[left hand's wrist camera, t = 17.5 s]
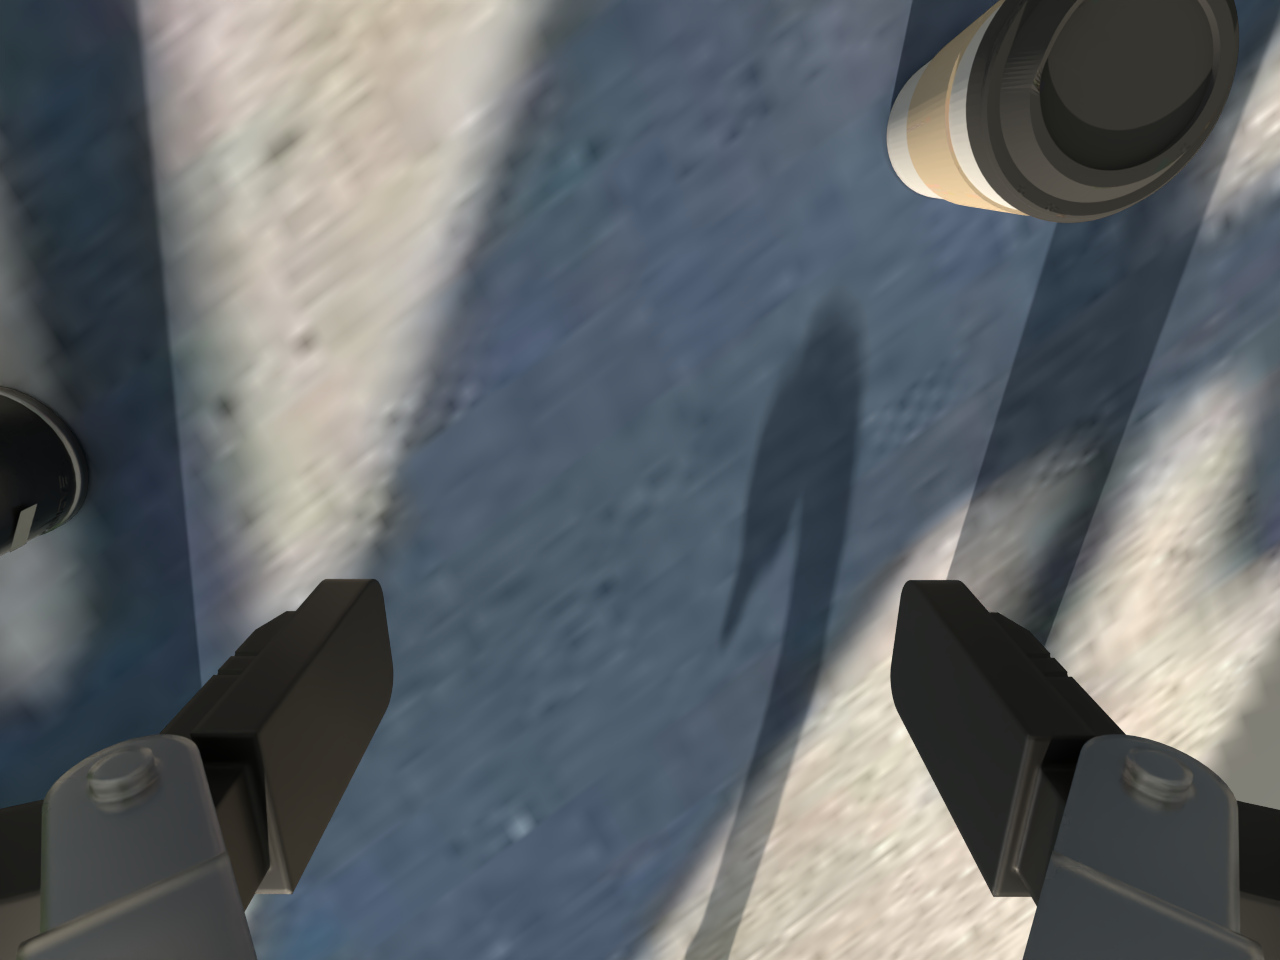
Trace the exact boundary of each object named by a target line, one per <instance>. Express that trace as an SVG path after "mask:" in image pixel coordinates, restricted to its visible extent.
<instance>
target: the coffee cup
mask: <svg viewBox="0 0 1280 960" xmlns="http://www.w3.org/2000/svg"><path fill="white" fill-rule="evenodd" d="M1238 49H1239V26H1238V17H1237V11H1236V6H1235V2H1234V0H999V1H998V2H997V3H996V4H995V5H993V6H992V7H991V8H990V9H989V10H987V11H986V12H985V13H984V14H983V15H982V16H980V17H979V18H978V19H977V20H976V21H974V22H973V23H972V24H971V25H970V26H968V27H967V28H966V29H965V30H964V31H962V32H961V33H960V34H959V35H958V36H956V37H955V38H954V39H953V40H952V41H950V42H949V43H948V44H947V45H946V46H945V47H944V48H942V49H941V50H940V51H939V53H938V54H937V55H936V56H935V57H934V58H933V59H932V60H931V61H929V62H928V63H927V64H925V65H924V66H923V67H922V68H920V69H919V70H918V71H917V72H916V73H915V74H914V75H913V76H912V77H911V78H910V79H909V80H908V81H907V83H906V84H905V85H904V87H903V88H902V90H901V91H900V93H899V94H898V96H897V98H896V100H895V103H894V105H893V107H892V110H891V113H890V117H889V121H888V128H887V147H888V153H889V157H890V160H891V163H892V166H893V168H894V170H895V172H896V173H897V175H898V176H899V178H900V179H901V180H902V181H903V182H904V183H905V184H906V185H907V186H908V187H909V188H911V189H912V190H914V191H915V192H917V193H919V194H922V195H925V196H928V197H933V198H940V199H945V200H947V201H950V202H952V203H955V204H959V205H965V206H971V207H977V208H983V209H989V210H996V211H1002V212H1008V213H1014V214H1020V215H1029V216H1032V217H1035V218H1038V219H1042V220H1046V221H1051V222H1060V223H1077V222H1086V221H1091V220H1096V219H1100V218H1104V217H1107V216H1110V215H1112V214H1115V213H1118V212H1120V211H1122V210H1124V209H1126V208H1128V207H1130V206H1132V205H1134V204H1136V203H1138V202H1140V201H1142V200H1143V199H1145V198H1147V197H1148V196H1150V195H1151V194H1153V193H1154V192H1156V191H1157V190H1159V189H1160V188H1161V187H1163V186H1164V185H1165V184H1166V183H1168V182H1169V181H1170V180H1171V179H1172V178H1173V177H1175V176H1176V175H1177V174H1178V173H1179V172H1180V171H1181V170H1182V169H1183V168H1184V167H1185V166H1186V165H1187V163H1188V162H1189V161H1190V160H1191V159H1192V158H1193V157H1194V155H1195V154H1196V153H1197V152H1198V150H1199V149H1200V148H1201V146H1202V145H1203V143H1204V142H1205V141H1206V139H1207V137H1208V136H1209V134H1210V133H1211V131H1212V129H1213V128H1214V126H1215V124H1216V122H1217V120H1218V118H1219V116H1220V114H1221V112H1222V110H1223V108H1224V105H1225V103H1226V101H1227V98H1228V95H1229V92H1230V89H1231V86H1232V83H1233V79H1234V75H1235V70H1236V65H1237V58H1238Z"/></svg>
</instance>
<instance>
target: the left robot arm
mask: <svg viewBox="0 0 1280 960" xmlns="http://www.w3.org/2000/svg"><path fill="white" fill-rule="evenodd" d="M87 490H88V469H87V464H86V461H85V457H84V454H83V452H82V449H81V447H80V445H79V443H78V442H77V440H76V438H75V437H74V435H73V434H72V432H71V431H70V430H69V428H68V427H67V426H66V425H65V424H64V422H63V421H62V420H61V419H60V418H59V417H58V416H57V415H56V414H54V413H53V412H52V411H51V410H50V409H48V408H47V407H46V406H44V405H43V404H42V403H40V402H38V401H37V400H35V399H33V398H31V397H30V396H28V395H25V394H23V393H21V392H18V391H16V390H13V389H9V388H6V387H1V386H0V556H1V555H3V554H5V553H7V552H9V551H10V552H12V551H13V550H15V549H17V548H19V547H21V546H23V545H25V544H26V542H27V541H29V540H31V539H33V538H35V537H37V536H39V535H42V534H45V533H47V532H50V531H52V530H54V529H55V528H57V527H59V526H61V525H63V524H64V523H66V522H68V521H69V520H70V519H71V518H73V517H74V516H75V514H76V513H77V512H78V511H79V509H80V508H81V506H82V504H83V503H84V500H85V498H86V494H87ZM890 677H891V690H892V696H893V700H894V704H895V707H896V709H897V711H898V713H899V715H900V717H901V719H902V721H903V723H904V725H905V727H906V729H907V731H908V733H909V735H910V737H911V738H912V740H913V742H914V744H915V746H916V748H917V750H918V752H919V754H920V756H921V758H922V760H923V762H924V764H925V765H926V767H927V769H928V771H929V773H930V775H931V777H932V779H933V781H934V783H935V785H936V787H937V789H938V791H939V793H940V794H941V796H942V798H943V800H944V802H945V804H946V806H947V808H948V810H949V812H950V814H951V816H952V818H953V820H954V821H955V823H956V825H957V827H958V829H959V831H960V833H961V835H962V837H963V839H964V841H965V843H966V845H967V847H968V849H969V850H970V852H971V854H972V856H973V858H974V860H975V862H976V864H977V866H978V868H979V870H980V872H981V874H982V876H983V877H984V879H985V881H986V883H987V885H988V887H989V889H990V891H991V893H992V895H993V897H1032V899H1033V900H1034V902H1035V904H1036V906H1037V909H1036V913H1035V916H1034V920H1033V924H1032V927H1031V931H1030V934H1029V938H1028V942H1027V945H1026V949H1025V953H1024V956H1023V960H1280V810H1277V809H1273V808H1268V807H1263V806H1259V805H1254V804H1249V803H1245V802H1241V801H1237V800H1236V799H1235V797H1234V794H1233V793H1232V791H1231V790H1230V788H1229V787H1228V786H1227V784H1226V783H1225V782H1224V781H1223V780H1222V779H1221V778H1220V777H1219V776H1218V775H1217V774H1215V773H1214V772H1213V771H1212V770H1210V769H1209V768H1208V767H1206V766H1205V765H1204V764H1202V763H1201V762H1199V761H1198V760H1196V759H1194V758H1192V757H1191V756H1189V755H1187V754H1185V753H1183V752H1181V751H1179V750H1177V749H1175V748H1173V747H1170V746H1167V745H1165V744H1162V743H1159V742H1156V741H1153V740H1150V739H1146V738H1141V737H1137V736H1130V735H1126V734H1125V733H1124V732H1123V731H1122V730H1121V729H1120V728H1119V727H1118V726H1117V725H1116V724H1115V722H1114V721H1113V720H1112V719H1111V718H1110V717H1109V716H1108V715H1107V714H1106V713H1105V712H1104V711H1103V710H1102V709H1101V707H1100V706H1099V705H1098V704H1097V703H1096V702H1095V701H1094V700H1093V699H1092V698H1091V697H1090V696H1089V695H1088V694H1087V692H1086V691H1085V690H1084V689H1083V688H1082V687H1081V686H1080V685H1079V684H1078V683H1077V682H1076V681H1075V680H1074V679H1073V677H1068V675H1067V671H1066V670H1065V669H1064V668H1063V667H1062V666H1061V665H1060V664H1059V662H1058V661H1057V660H1056V659H1055V658H1051V657H1050V653H1049V652H1048V651H1047V650H1046V649H1045V647H1044V646H1043V645H1042V644H1041V643H1040V642H1039V641H1038V640H1037V639H1036V638H1035V637H1034V636H1033V635H1032V634H1031V632H1030V631H1028V630H1026V629H1025V628H1023V627H1021V626H1020V625H1018V624H1016V623H1015V622H1013V621H1011V620H1010V619H1008V618H1006V617H1005V616H1003V615H1001V614H1000V613H989V612H988V611H987V610H986V608H985V607H984V606H983V605H982V604H981V603H980V602H979V600H978V599H977V598H976V597H975V596H974V595H973V594H972V592H971V591H970V590H969V589H968V588H967V587H966V586H965V584H963V583H962V582H961V581H959V580H909V581H907V582H906V583H905V585H904V587H903V589H902V593H901V598H900V606H899V613H898V620H897V627H896V634H895V641H894V648H893V656H892V663H891V675H890ZM392 687H393V663H392V656H391V648H390V641H389V634H388V627H387V619H386V612H385V605H384V598H383V592H382V588H381V586H380V584H379V582H378V581H377V580H375V579H325V580H323V581H322V582H321V583H320V584H319V585H318V586H317V587H316V588H315V590H314V591H313V592H312V593H311V594H310V595H309V596H308V598H307V599H306V600H305V601H304V602H303V603H302V604H301V606H300V607H299V608H298V609H297V610H296V611H286V612H284V613H283V614H281V615H279V616H278V617H276V618H274V619H273V620H271V621H269V622H268V623H266V624H264V625H263V626H261V627H259V628H258V629H256V630H255V631H254V632H253V633H252V634H251V635H250V636H249V637H248V638H247V640H246V641H245V642H244V643H243V644H242V645H241V646H240V647H239V648H238V649H237V650H236V651H235V656H231V657H230V658H229V659H228V660H227V661H226V662H225V663H224V664H223V665H222V667H221V668H220V669H219V670H218V675H213V676H212V677H211V678H210V680H209V681H208V682H207V683H206V684H205V685H204V686H203V687H202V688H201V689H200V690H199V691H198V692H197V694H196V695H195V696H194V697H193V698H192V699H191V700H190V701H189V702H188V703H187V704H186V705H185V707H184V708H183V709H182V710H181V711H180V712H179V713H178V714H177V715H176V716H175V717H174V718H173V720H172V721H171V722H170V723H169V724H168V725H167V726H166V727H165V728H164V729H163V730H162V731H161V732H160V734H159V735H150V736H143V737H139V738H134V739H130V740H127V741H124V742H121V743H118V744H115V745H113V746H110V747H107V748H105V749H103V750H101V751H99V752H97V753H95V754H93V755H91V756H89V757H88V758H86V759H84V760H82V761H81V762H79V763H78V764H76V765H75V766H74V767H72V768H71V769H70V770H68V771H67V772H66V773H65V774H63V775H62V776H61V777H60V778H59V779H58V780H57V781H56V782H55V783H54V784H53V786H52V787H51V788H50V790H49V791H48V793H47V794H46V797H45V799H44V800H39V801H35V802H30V803H25V804H21V805H16V806H11V807H7V808H2V809H0V960H257V956H256V953H255V949H254V945H253V942H252V938H251V934H250V931H249V927H248V924H247V920H246V916H245V913H244V912H245V910H246V908H247V907H248V905H249V903H250V901H251V900H252V898H253V896H254V894H292V893H293V892H294V890H295V888H296V886H297V884H298V882H299V880H300V878H301V876H302V874H303V872H304V870H305V868H306V866H307V864H308V862H309V860H310V858H311V856H312V854H313V852H314V850H315V849H316V847H317V845H318V843H319V841H320V839H321V837H322V835H323V833H324V831H325V829H326V827H327V825H328V823H329V821H330V819H331V817H332V815H333V813H334V811H335V809H336V807H337V806H338V804H339V802H340V800H341V798H342V796H343V794H344V792H345V790H346V788H347V786H348V784H349V782H350V780H351V778H352V776H353V774H354V772H355V770H356V768H357V766H358V764H359V762H360V761H361V759H362V757H363V755H364V753H365V751H366V749H367V747H368V745H369V743H370V741H371V739H372V737H373V735H374V733H375V731H376V729H377V727H378V725H379V723H380V721H381V719H382V718H383V716H384V714H385V712H386V710H387V707H388V705H389V702H390V698H391V693H392Z"/></svg>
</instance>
